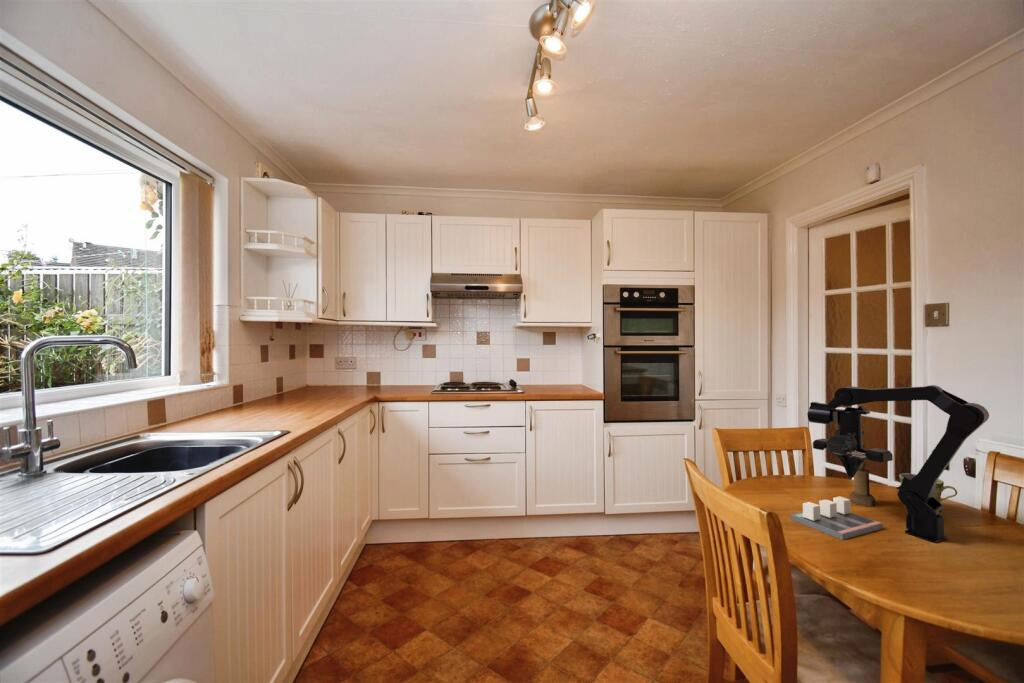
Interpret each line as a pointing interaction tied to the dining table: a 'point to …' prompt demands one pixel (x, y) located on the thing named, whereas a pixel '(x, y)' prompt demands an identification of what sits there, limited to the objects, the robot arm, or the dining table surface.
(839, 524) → the breaker panel
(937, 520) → the robot arm
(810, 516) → the handle
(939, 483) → the ceramic cup
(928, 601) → the dining table surface
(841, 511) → the white block
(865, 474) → the brown statuette
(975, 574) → the dining table surface
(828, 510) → the handle
